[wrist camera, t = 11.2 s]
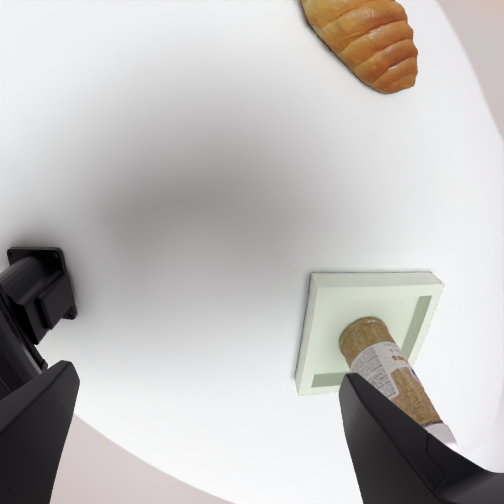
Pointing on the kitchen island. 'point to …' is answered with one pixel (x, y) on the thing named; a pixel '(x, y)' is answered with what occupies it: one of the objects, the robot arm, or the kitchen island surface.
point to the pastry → (368, 39)
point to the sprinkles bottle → (391, 374)
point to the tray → (354, 309)
